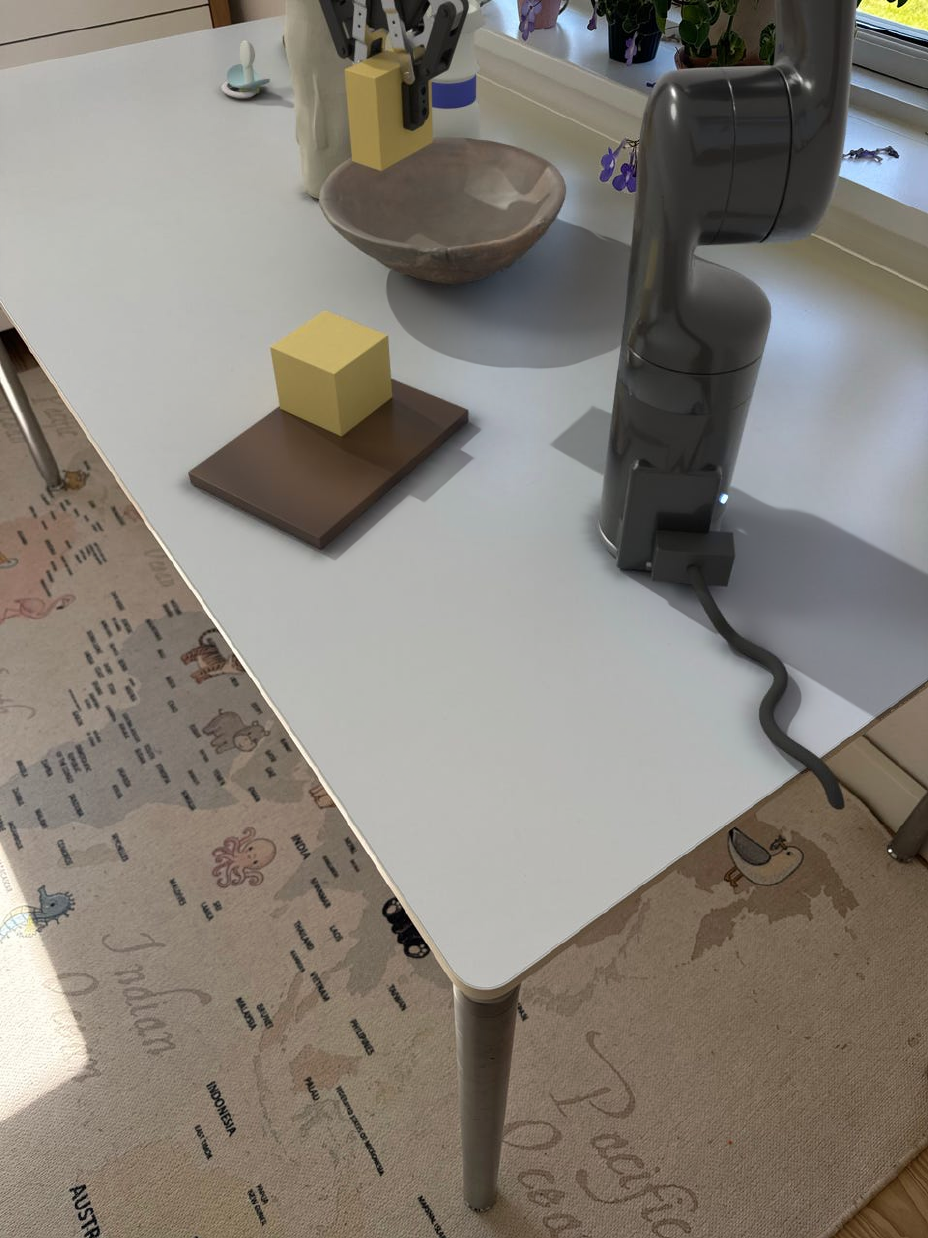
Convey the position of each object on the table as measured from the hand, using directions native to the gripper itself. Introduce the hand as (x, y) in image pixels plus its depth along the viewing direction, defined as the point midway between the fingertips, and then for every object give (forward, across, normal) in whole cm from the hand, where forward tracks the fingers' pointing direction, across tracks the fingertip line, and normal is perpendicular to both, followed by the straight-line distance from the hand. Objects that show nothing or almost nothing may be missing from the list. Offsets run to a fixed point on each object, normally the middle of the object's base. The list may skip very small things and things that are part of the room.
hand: (395, 120), depth 84 cm
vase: (+20, +25, -20) cm, 37 cm away
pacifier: (+20, +55, -37) cm, 69 cm away
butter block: (+18, -4, +15) cm, 24 cm away
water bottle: (+20, +14, -27) cm, 37 cm away
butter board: (+19, -7, +19) cm, 28 cm away
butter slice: (+2, 0, +1) cm, 2 cm away
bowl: (+20, +4, -12) cm, 24 cm away
